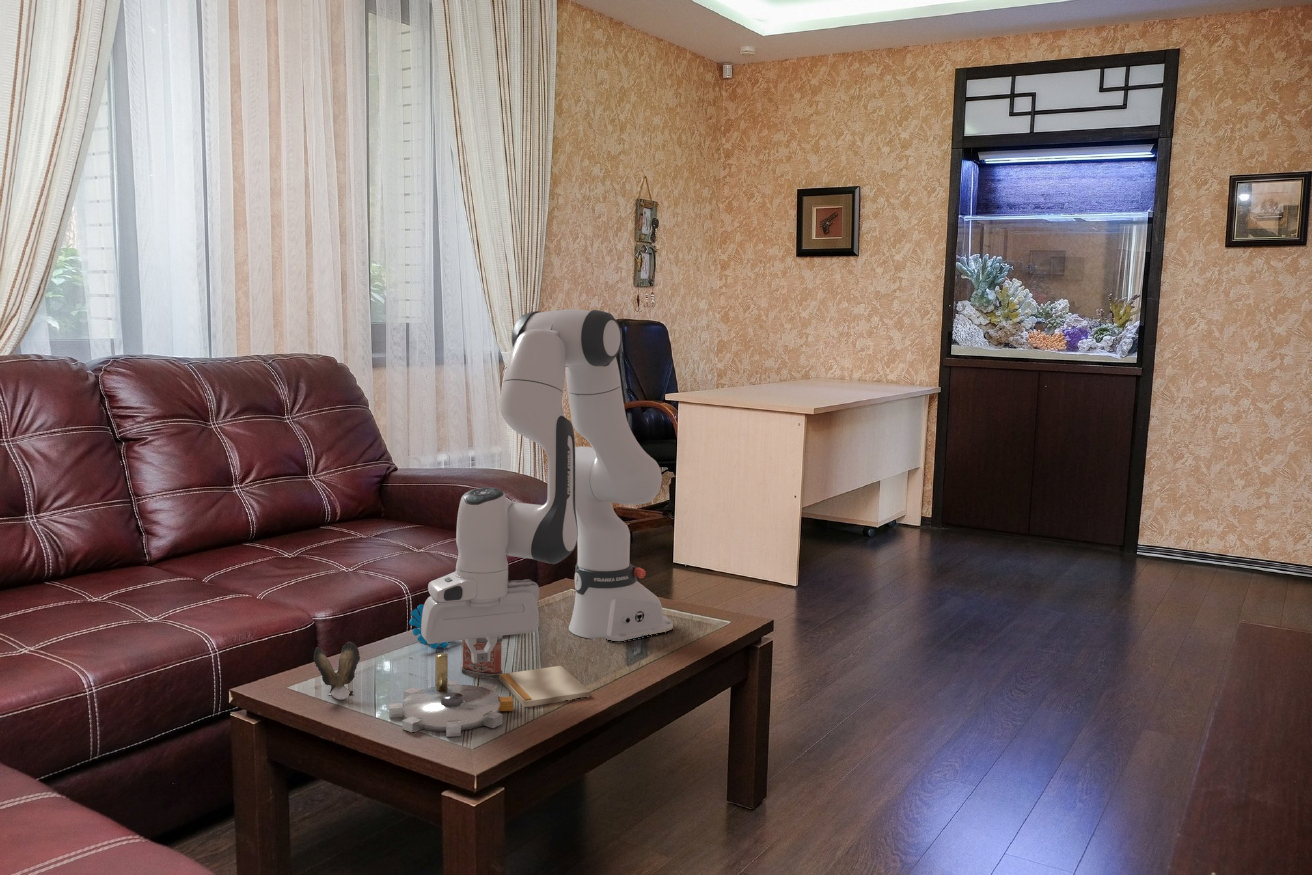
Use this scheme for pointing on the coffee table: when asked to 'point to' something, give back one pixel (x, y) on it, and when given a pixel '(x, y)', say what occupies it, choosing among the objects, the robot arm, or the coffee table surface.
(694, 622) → the coffee table surface
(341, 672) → the eagle figurine
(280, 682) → the coffee table surface
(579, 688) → the pad
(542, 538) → the robot arm
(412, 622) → the gear
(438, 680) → the sprocket
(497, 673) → the lighter
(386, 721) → the coffee table surface
